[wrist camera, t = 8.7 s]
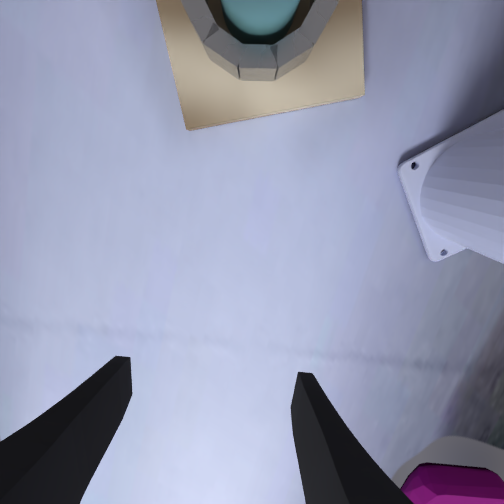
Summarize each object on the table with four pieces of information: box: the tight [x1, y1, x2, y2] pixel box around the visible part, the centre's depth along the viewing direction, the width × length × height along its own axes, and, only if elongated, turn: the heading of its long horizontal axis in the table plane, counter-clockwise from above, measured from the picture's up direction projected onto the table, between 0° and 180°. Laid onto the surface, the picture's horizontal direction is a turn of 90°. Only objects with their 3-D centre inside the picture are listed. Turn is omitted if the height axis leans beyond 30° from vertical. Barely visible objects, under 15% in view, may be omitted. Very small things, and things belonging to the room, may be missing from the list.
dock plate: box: [156, 0, 365, 131], centre depth 15 cm, size 11×11×1 cm
